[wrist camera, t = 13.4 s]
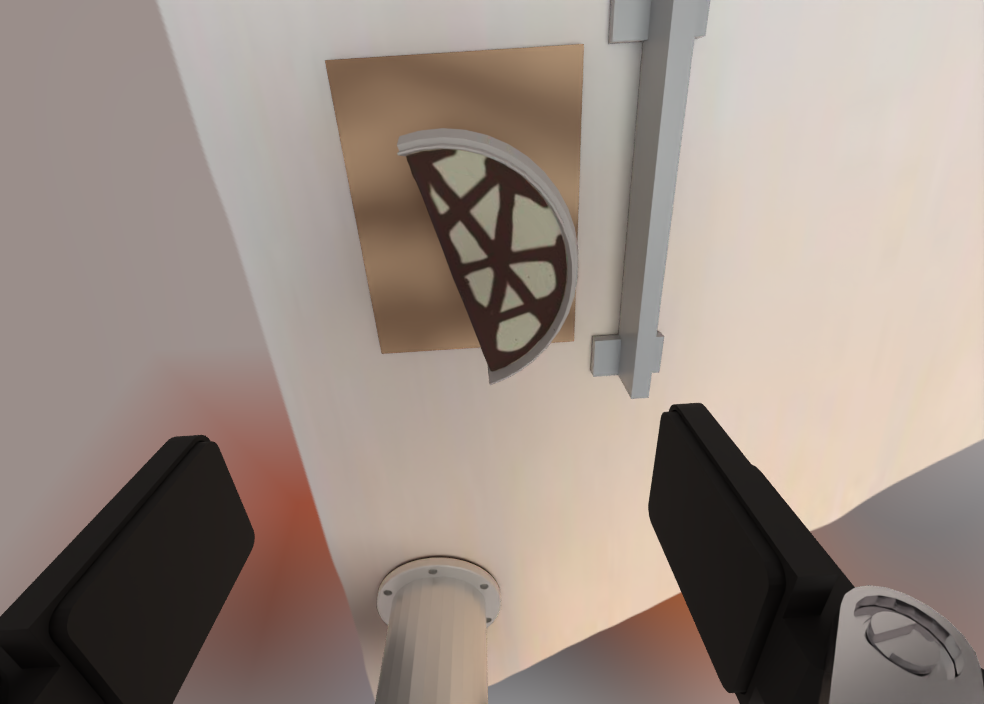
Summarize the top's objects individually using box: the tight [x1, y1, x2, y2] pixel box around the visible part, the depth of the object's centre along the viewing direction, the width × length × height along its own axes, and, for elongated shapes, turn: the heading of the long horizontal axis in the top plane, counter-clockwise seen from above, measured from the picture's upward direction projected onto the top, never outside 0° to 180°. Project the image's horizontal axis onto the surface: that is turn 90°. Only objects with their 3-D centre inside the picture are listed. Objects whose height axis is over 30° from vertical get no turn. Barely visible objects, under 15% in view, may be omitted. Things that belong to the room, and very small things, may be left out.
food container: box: [397, 128, 578, 385], centre depth 24 cm, size 12×6×10 cm, turn 19°
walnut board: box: [325, 44, 584, 354], centre depth 29 cm, size 18×14×1 cm
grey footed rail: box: [591, 0, 710, 399], centre depth 27 cm, size 24×5×4 cm, turn 3°
